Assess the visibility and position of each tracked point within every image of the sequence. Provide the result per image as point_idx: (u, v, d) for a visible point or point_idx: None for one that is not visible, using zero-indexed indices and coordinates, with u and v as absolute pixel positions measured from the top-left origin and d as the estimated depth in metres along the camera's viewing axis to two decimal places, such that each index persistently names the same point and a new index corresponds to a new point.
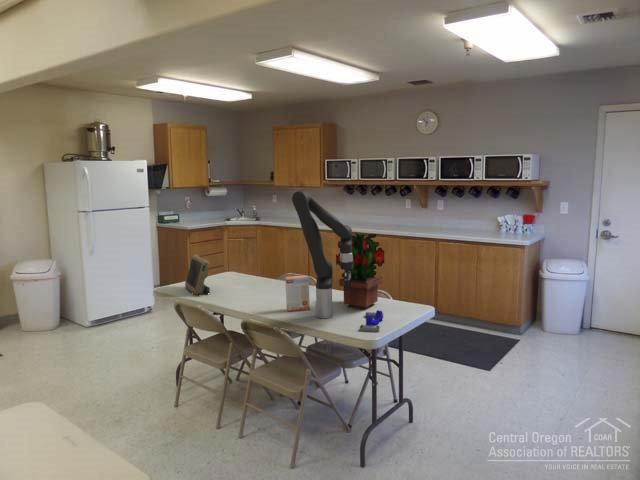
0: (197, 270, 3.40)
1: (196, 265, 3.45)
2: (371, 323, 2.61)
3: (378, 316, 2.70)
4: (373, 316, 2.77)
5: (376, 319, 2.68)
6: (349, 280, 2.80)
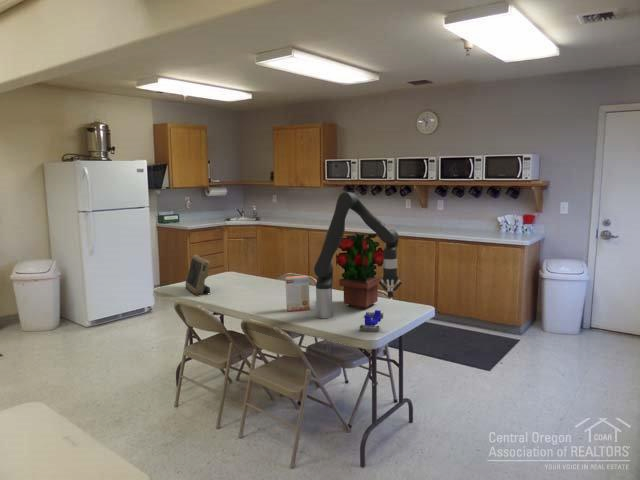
0: (197, 270, 3.40)
1: (196, 265, 3.45)
2: (370, 323, 2.62)
3: (376, 315, 2.70)
4: (373, 316, 2.77)
5: (375, 319, 2.69)
6: (390, 291, 2.63)
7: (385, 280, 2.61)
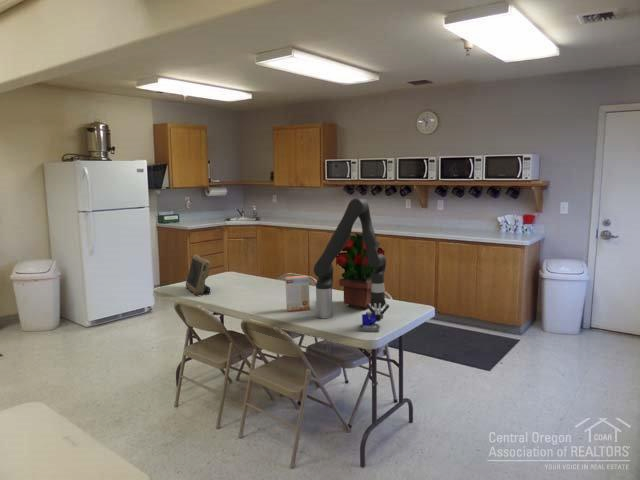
0: (198, 270, 3.40)
1: (197, 265, 3.45)
2: (367, 322, 2.62)
3: (373, 315, 2.71)
4: None
5: (372, 318, 2.69)
6: None
7: (373, 304, 2.64)
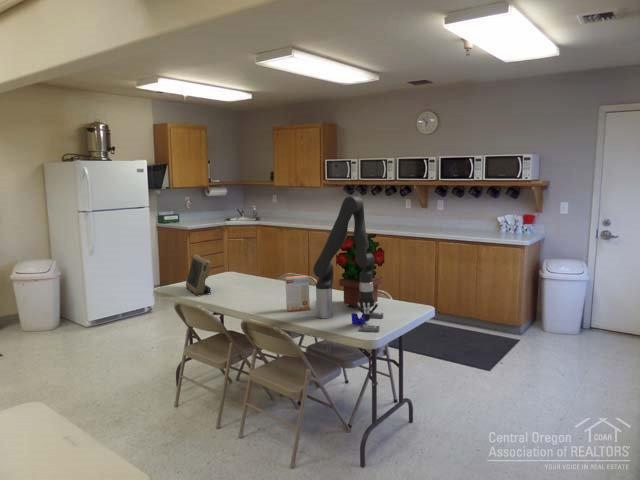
0: (198, 270, 3.40)
1: (197, 265, 3.45)
2: (356, 321, 2.64)
3: None
4: (373, 316, 2.77)
5: (363, 317, 2.71)
6: None
7: (361, 303, 2.65)
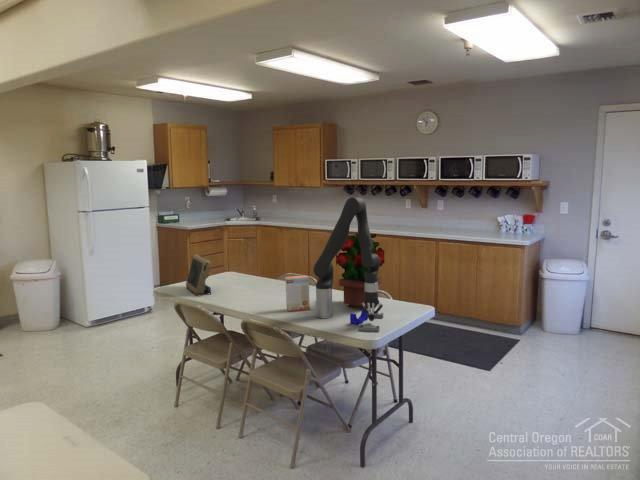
0: (198, 270, 3.40)
1: (197, 265, 3.45)
2: (355, 321, 2.65)
3: (363, 314, 2.73)
4: None
5: (361, 317, 2.72)
6: (371, 314, 2.67)
7: (366, 303, 2.65)
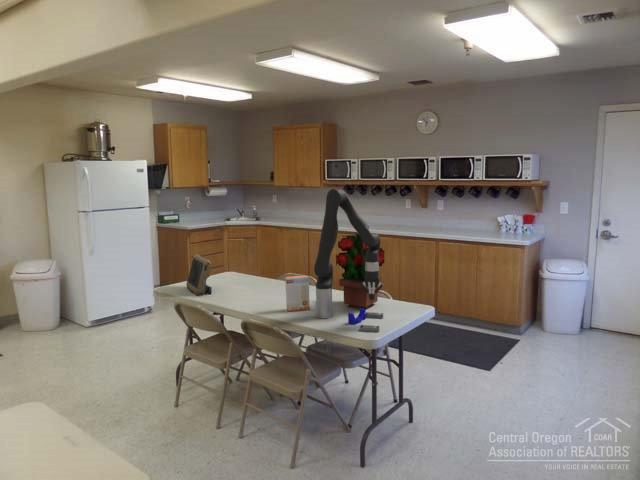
0: (199, 270, 3.41)
1: (198, 265, 3.45)
2: (353, 321, 2.65)
3: (361, 314, 2.74)
4: (373, 316, 2.77)
5: (359, 317, 2.72)
6: None
7: (367, 282, 2.65)
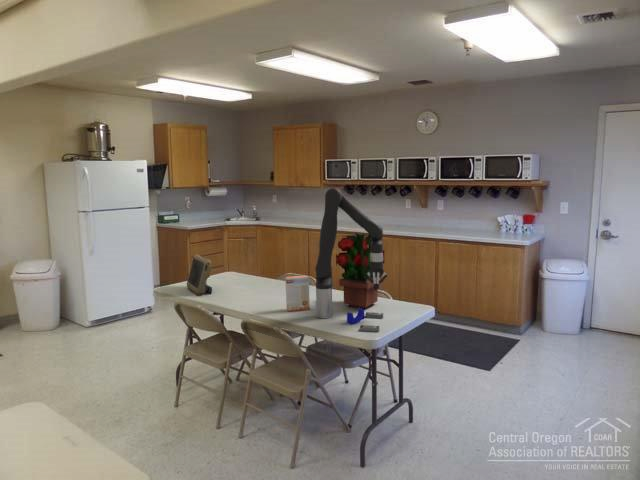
0: (199, 270, 3.41)
1: (198, 265, 3.46)
2: (352, 321, 2.66)
3: (359, 313, 2.74)
4: (373, 316, 2.77)
5: (358, 317, 2.73)
6: (376, 283, 2.76)
7: (371, 273, 2.74)
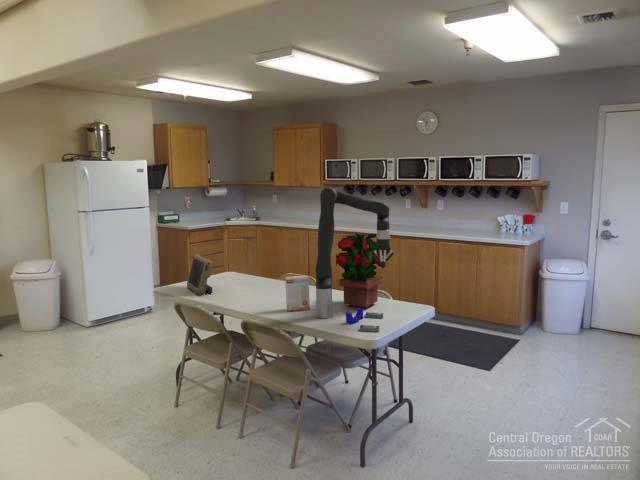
0: (200, 270, 3.41)
1: (198, 265, 3.46)
2: (351, 320, 2.66)
3: (358, 313, 2.75)
4: (373, 316, 2.77)
5: (357, 317, 2.73)
6: None
7: (378, 250, 2.73)
